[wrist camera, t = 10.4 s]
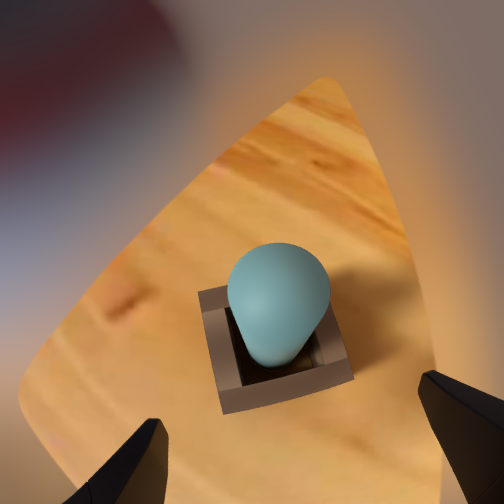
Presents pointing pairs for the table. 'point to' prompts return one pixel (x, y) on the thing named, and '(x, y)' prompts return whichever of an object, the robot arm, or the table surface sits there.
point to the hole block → (277, 390)
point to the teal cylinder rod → (277, 301)
